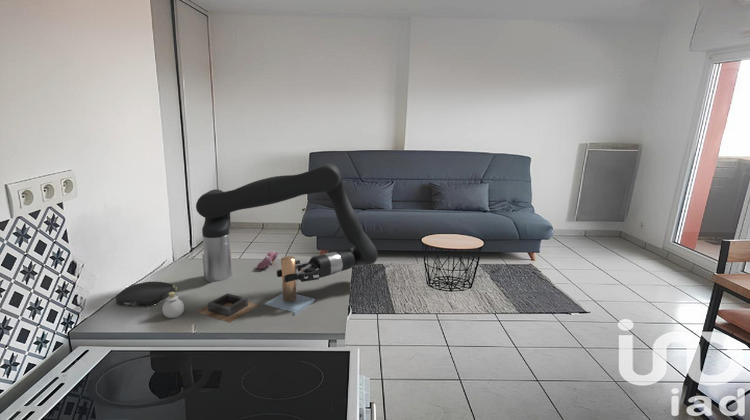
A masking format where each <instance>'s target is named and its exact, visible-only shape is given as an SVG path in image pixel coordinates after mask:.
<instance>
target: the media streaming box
mask: <svg viewBox="0 0 750 420" xmlns="http://www.w3.org/2000/svg"><path fill="white" fill-rule="evenodd" d="M173 286H174V284H172V283H169V282H163V281H144V282H141V283H135V284H132V285H130V286H127V287H126V288H124V289H123V290H121V291H120V292H119V293H118V294H117V295H115V301H116V305H118V304H119V305H118V306H122V305H126V306H125V307H133V306H150V307H152V306H151V305H154V304H157V303H159V302H160V301H162V300H163V301H164V300H166V299H167V298H168V297H169V293H170V292H175V290H174V289H175V286H174V287H173ZM165 298H166V299H165ZM163 301H162V302H163ZM160 303H161V302H160ZM160 303H159V304H160ZM127 305H128V306H127ZM157 305H158V304H157ZM154 306H155V305H154Z"/></svg>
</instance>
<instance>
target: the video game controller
mask: <svg viewBox="0 0 750 420" xmlns="http://www.w3.org/2000/svg"><path fill="white" fill-rule="evenodd" d="M278 255H279V252H277V251H274V250H272V251H270V252H268V253H267V254H266V256H265V257H264V258H263V259H262V261H260V262H259V263H257V265H256V269H258V270H262V269H265V268H269V267H270V266H271V265H273V264H274V262H275V260H276V259H277V258H278Z"/></svg>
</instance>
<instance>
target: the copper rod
mask: <svg viewBox="0 0 750 420" xmlns="http://www.w3.org/2000/svg"><path fill="white" fill-rule="evenodd" d="M295 261H296V257H295V256H292V255H287V256H283V257H281V259H280V263H281V265H280V267H281V269H282V276H281V286H282V287H281V289H282V293H283V301H286V302H292V301H295V300H296V294H297V280H294V281H290V282H285V281H284V276H285V275H288V274H292V273H296V268H295Z"/></svg>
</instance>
